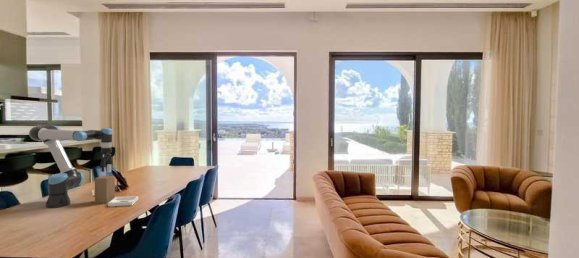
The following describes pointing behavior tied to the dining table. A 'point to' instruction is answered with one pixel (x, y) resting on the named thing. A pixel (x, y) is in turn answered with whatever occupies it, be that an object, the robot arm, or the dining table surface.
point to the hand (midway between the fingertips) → (106, 173)
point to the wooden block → (104, 189)
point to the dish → (123, 201)
